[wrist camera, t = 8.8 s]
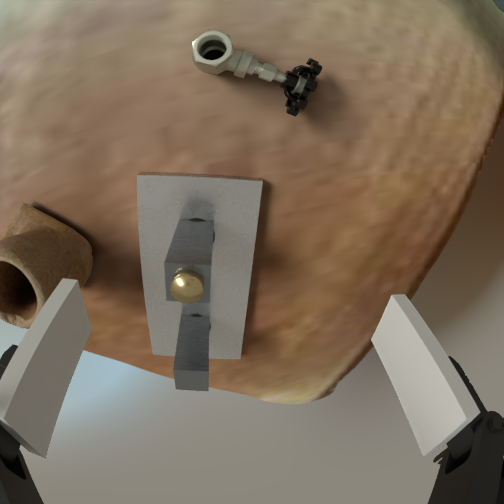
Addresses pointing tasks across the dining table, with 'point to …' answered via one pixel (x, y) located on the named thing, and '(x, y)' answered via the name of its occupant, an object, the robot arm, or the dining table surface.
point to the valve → (256, 68)
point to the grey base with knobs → (222, 272)
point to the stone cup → (38, 263)
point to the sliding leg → (190, 262)
